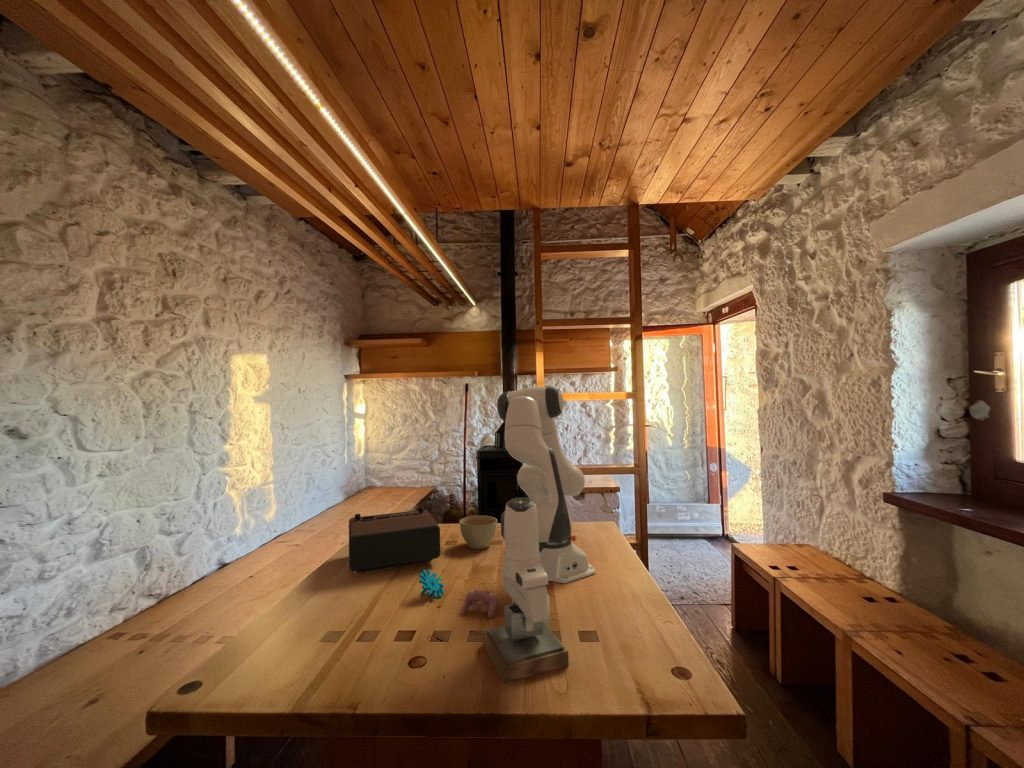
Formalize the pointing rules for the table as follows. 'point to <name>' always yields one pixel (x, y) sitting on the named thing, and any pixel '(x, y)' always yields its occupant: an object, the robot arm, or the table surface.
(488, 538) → the planter bowl
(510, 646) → the plinth
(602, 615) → the table surface
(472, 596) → the video game controller
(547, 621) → the pale grey capsule
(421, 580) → the gear
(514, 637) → the housing
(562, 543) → the robot arm
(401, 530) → the radio receiver
